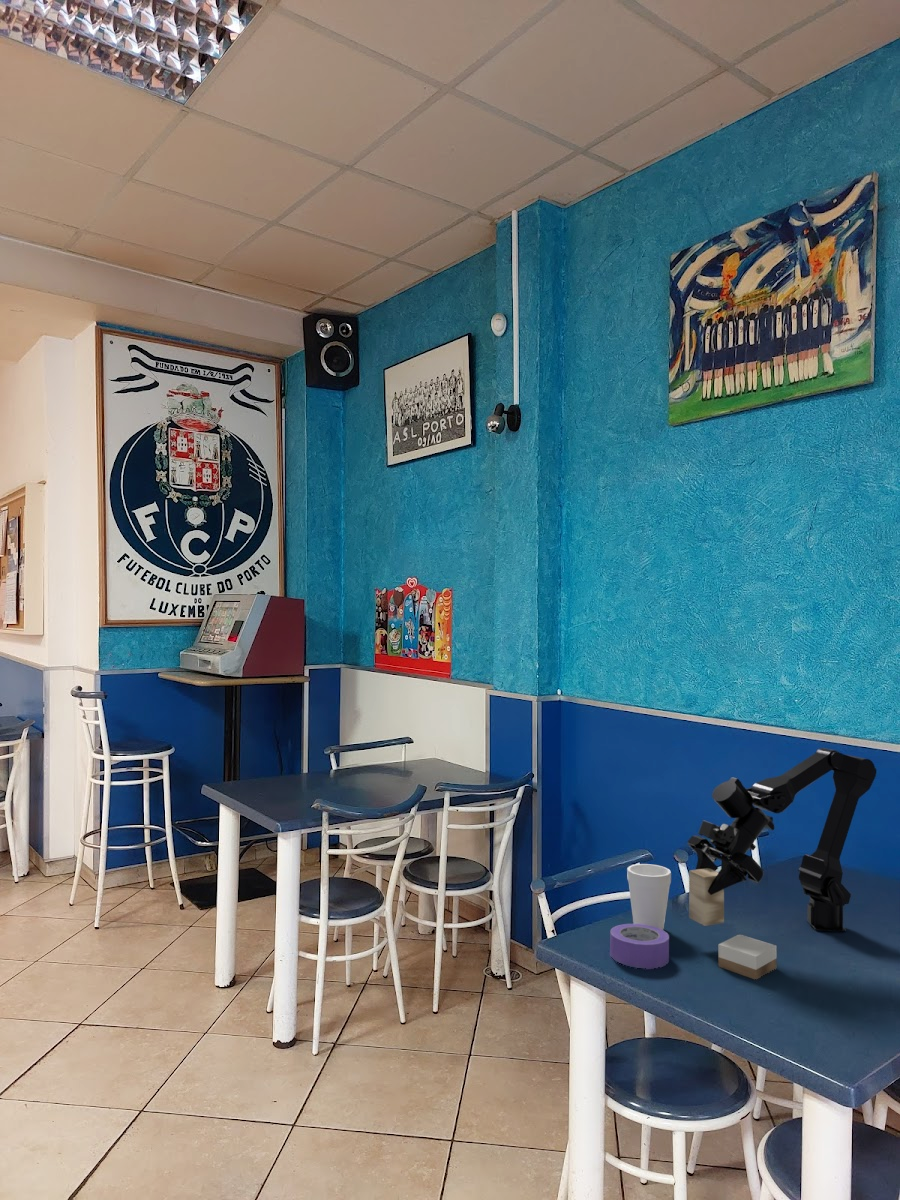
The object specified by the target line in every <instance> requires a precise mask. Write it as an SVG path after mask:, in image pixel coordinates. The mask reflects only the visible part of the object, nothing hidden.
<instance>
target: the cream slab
mask: <svg viewBox="0 0 900 1200" xmlns="http://www.w3.org/2000/svg"><path fill="white" fill-rule="evenodd" d="M777 946H778V945H776V944H772V943H769V942H766V941H762V940H760V939H756V938H753V937H750V936H746V935H745V934H744V935H743V934H737V935H735V936H733V937H731V938H728V939H727V940H724V941H722V942H720V943H718V947H717V948H718V954H717V955H718V957H720V958H723V959H726V960H729V961H732V962H735V963H738V964H740V965H743V966H746V967H749V968H752V969H755V970H757V969H758V968H760V967H762V966H764V965H766V964H767V963H769V962H771V961H773V960H774V959H776V958H777V954H778V953H777V952H778V951H777Z"/></svg>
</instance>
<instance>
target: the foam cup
mask: <svg viewBox="0 0 900 1200" xmlns="http://www.w3.org/2000/svg"><path fill="white" fill-rule="evenodd" d="M626 871H627V873H626V874H627V876H626V877H627V878H626V879H627V882H628V888H629V897H630V905H631V914H632V922H633V923H632V924H643V925H649V926H653V927H657V928H659V929H662V930H664V928H665V921H666V913H667V908H668V902H669V901H668V899H669V894H670V893H669V892H670V885H671V883H672V872H671V870H670V869H669V868H667V867H665V866H662V865H659V864H649V863H637V864H632V865H629V866H627V868H626Z"/></svg>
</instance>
